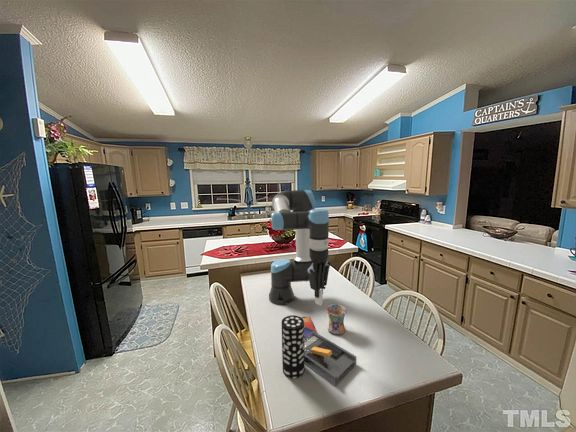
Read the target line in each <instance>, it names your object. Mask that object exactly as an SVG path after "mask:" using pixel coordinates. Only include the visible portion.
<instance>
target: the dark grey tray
mask: <svg viewBox="0 0 576 432" xmlns="http://www.w3.org/2000/svg"><path fill="white" fill-rule="evenodd" d="M316 332H317V331H316ZM316 332H314V331H312V334H311V335H309V336H308V337H307V338H304V365H306V366H307V367H308V368H310V369H311V370H312V371H314V373H316V374H318V375H319V376H320V377H322V379H325V380H326V381H327V382H329V383H330V384H331V385H333V386H334V387H336V386H337V385H338V384H339V383H340V382H341V381H342V380H343V379H344V378H345V377H346V376H347V375H348V374H349V373H350V371H352V370H353V369H354V367H356V365H357V356H356V355H355V354H353V353H351V352H349V351H348V350H347V349H344V348H342V347H341V346H340V345H338V344H336V343H334V342H332V341H331V340H329V339H328V338H327V337H324V336H322V335H321V334H319V333H316ZM313 347H318V348H323V349H327V350H331V351H332V355H331V356H330V357H325V356H321V355H317V354H313V353H311V349H312V348H313Z"/></svg>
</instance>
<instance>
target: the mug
mask: <svg viewBox="0 0 576 432" xmlns="http://www.w3.org/2000/svg"><path fill="white" fill-rule="evenodd" d="M326 312H327V314H328V324H327V326H326V327H327V330H328V332H329V333H331V334H333V335H342V334H343V333H345V331H346V327H345V324H344V322H345V316H346V314H347V308H346V307H345V306H343V305H342V304H334V303H333V304H330V305H328V306H327V307H326Z"/></svg>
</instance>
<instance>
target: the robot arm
mask: <svg viewBox="0 0 576 432" xmlns="http://www.w3.org/2000/svg"><path fill="white" fill-rule="evenodd" d="M271 205H272V206H271V207H272V209H273V210H274V212H272V213H271V214H270V215H271V219H270V220H271V229H272V230H275V231H277V230H278V231H286V230H287V231H288V230H295V247H296V249H295V252H296V254H295V255H296V256H294V258H293V261H291V260H290V259H287V258H280V259H277V260H275V261H272V263H271V265H270V275H271V276H270V278H271V279H270V280H271V283H270V284H271V287H270V292H269V294H268V300H269V302H270V303H272V304H275V305H287V304H290V303H292V302H293V301H294V300H295V294H294V290H293V288H292V283H298V282H309V287H310V289H311V290H313V291H314V301H315V302H314V303H315V304H317V305H318V306H322V305H323V300H324V299H323V297H324V296H323V295H324V290H325V289H326V286H327V284H328V277H329V271H330V268H331V267H330V266H331V264H332V262H331V261H328V259H329V236H330V235H329V230H330V229H329V227H330V216H329V214H330V213H329V211H328V210H327V209H326V208H325V209H324V208H316V200H315V195H314V193H313V191H312V190H311V189H310V190H309V189H302V190H301V189H299V190H298V189H297V190H295V189H293V190H290V189H289V190H284V191H283V190H282V191H280V192H278V193H276V194H275V195H274V197H273V198H272V200H271Z"/></svg>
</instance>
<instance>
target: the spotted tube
mask: <svg viewBox="0 0 576 432" xmlns="http://www.w3.org/2000/svg"><path fill="white" fill-rule="evenodd" d="M301 317H302V316H298V315H290V314H289V315H286V316H285V317H283V318H282V320H281V354H282V355H281V357H282V358H281V362H282V373H283V375H284V376H285V377H287V378H290V379H298V378H300V377H302V376H303V375H304V373H305V364H304V339H305V338H304V320H303V319H302V318H301Z"/></svg>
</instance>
